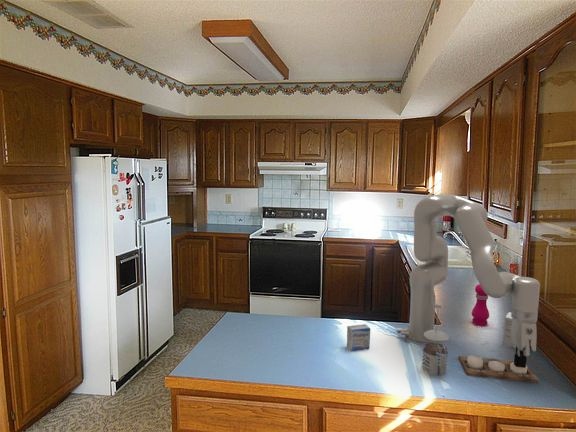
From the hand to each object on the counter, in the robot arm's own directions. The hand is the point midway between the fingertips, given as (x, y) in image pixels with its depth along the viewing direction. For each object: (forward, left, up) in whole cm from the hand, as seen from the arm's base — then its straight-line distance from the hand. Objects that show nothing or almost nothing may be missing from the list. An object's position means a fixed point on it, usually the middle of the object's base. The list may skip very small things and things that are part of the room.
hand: (519, 366), depth 137 cm
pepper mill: (0, +46, -4) cm, 46 cm away
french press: (-28, -5, -4) cm, 29 cm away
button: (-7, 0, -4) cm, 8 cm away
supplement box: (+7, +24, -4) cm, 25 cm away
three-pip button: (-14, 0, -2) cm, 14 cm away
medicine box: (-54, +10, -4) cm, 55 cm away
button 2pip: (0, 0, -3) cm, 3 cm away
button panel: (-7, 0, -4) cm, 8 cm away
